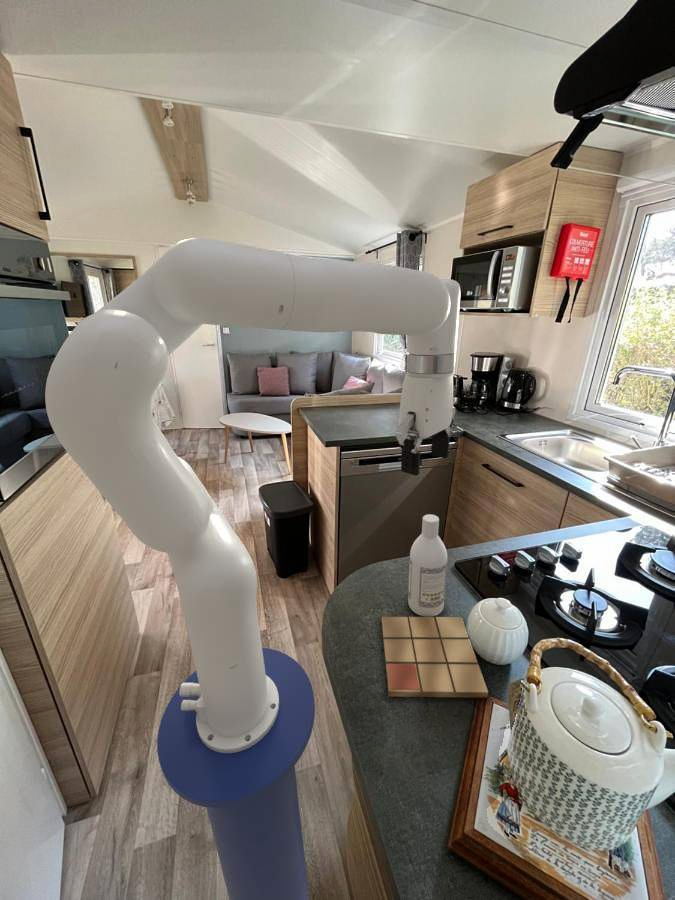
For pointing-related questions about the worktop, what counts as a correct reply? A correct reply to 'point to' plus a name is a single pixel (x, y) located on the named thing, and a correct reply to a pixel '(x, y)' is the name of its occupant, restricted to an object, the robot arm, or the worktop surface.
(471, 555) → the worktop surface
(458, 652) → the grid board
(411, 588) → the bath foam
